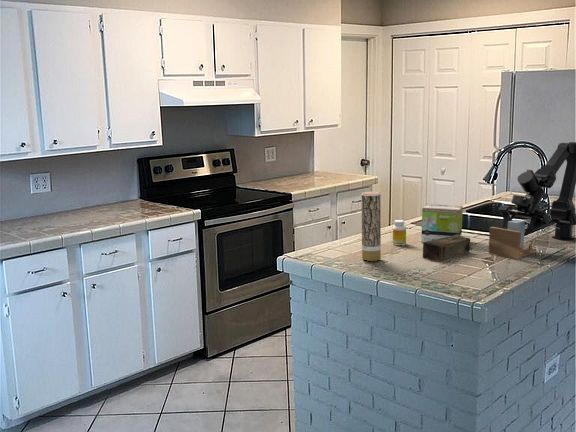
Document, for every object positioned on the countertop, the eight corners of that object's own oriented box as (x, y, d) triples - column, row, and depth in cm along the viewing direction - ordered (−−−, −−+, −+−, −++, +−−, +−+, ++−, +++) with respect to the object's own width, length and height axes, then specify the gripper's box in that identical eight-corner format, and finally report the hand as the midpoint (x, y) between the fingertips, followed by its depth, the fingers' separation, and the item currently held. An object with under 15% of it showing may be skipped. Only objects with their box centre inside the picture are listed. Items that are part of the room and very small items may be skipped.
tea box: (421, 243, 249) (421, 207, 246) (425, 237, 258) (425, 203, 255) (459, 245, 243) (460, 208, 240) (462, 239, 252) (462, 204, 249)
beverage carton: (471, 253, 232) (471, 236, 230) (438, 263, 220) (438, 245, 219) (454, 249, 238) (454, 233, 237) (421, 258, 226) (421, 241, 225)
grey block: (514, 250, 233) (515, 219, 230) (523, 252, 230) (524, 221, 227) (506, 252, 230) (507, 221, 227) (515, 254, 227) (517, 223, 224)
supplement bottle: (405, 246, 245) (406, 222, 243) (392, 245, 246) (392, 222, 244) (406, 242, 250) (406, 219, 248) (392, 242, 251) (392, 219, 249)
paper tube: (369, 263, 222) (368, 195, 217) (358, 259, 228) (357, 192, 223) (384, 260, 225) (384, 193, 220) (373, 256, 231) (373, 191, 226)
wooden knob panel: (508, 247, 237) (509, 222, 235) (537, 253, 228) (538, 226, 226) (488, 253, 230) (489, 227, 228) (517, 259, 220) (518, 232, 218)
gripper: (501, 184, 234) (483, 216, 230) (547, 189, 220) (528, 224, 215) (513, 202, 241) (495, 233, 236) (558, 207, 226) (540, 242, 222)
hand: (513, 233), depth 227 cm, fingers open, 9 cm apart
